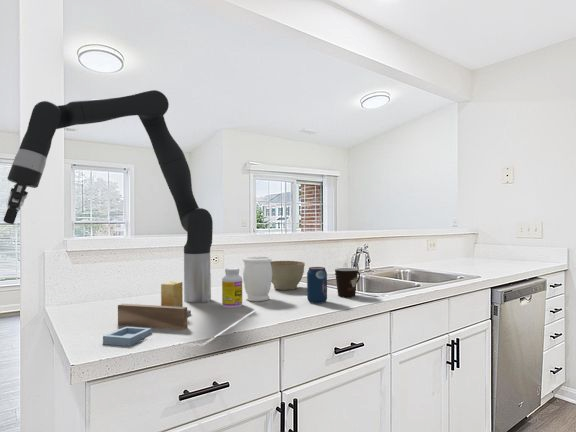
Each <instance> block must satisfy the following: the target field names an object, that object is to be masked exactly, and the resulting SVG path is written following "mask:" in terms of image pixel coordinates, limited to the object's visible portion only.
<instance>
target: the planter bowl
mask: <svg viewBox="0 0 576 432" xmlns="http://www.w3.org/2000/svg"><path fill="white" fill-rule="evenodd" d="M270 264H271V267H272V281H271V284H272V285H273V288H274V289H275V290H279V291H280V290H282V291H291V290H296V289H297V288H298V285H299V283H300V282H301V280H302V279H303V276H304V272H305V265H306V263H305V262H304V261H300V260H299V261H297V260H272V261H271V262H270Z"/></svg>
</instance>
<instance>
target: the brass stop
mask: <svg viewBox="0 0 576 432" xmlns="http://www.w3.org/2000/svg"><path fill="white" fill-rule="evenodd" d="M160 290H161V291H160V299H161V301H160V302H161V303H160V306H175V307H184V306H183V304H184V303H183V302H184V301H183V300H184V294H183V281H168V282H165V283H161V284H160Z"/></svg>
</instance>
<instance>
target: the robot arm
mask: <svg viewBox="0 0 576 432" xmlns="http://www.w3.org/2000/svg"><path fill="white" fill-rule="evenodd" d="M169 105H170V104H169V100H168V97H167V96H166V95H165V94H164V93H163V92H162V91H159V90H156V89H149V90H146V91H143V92H137V93H134V94H129V95H124V96H118V97H108V98H95V99H83V100H72V101H70V102H68V103H67V104H63V105H56V104H55V103H54V102H52V101H48V100H42V101H39V102H37V103H36V104H35V105H34V107H33V109H32V111H31V114H30V118H29V121H28V126H27V129H26V131H25V134H24V136H23V137H22V140H21V143H20V146H19V148H18V151H17V153H16V155H15V157H14V159H13V161H12V165H11V167H10V169H9V170H10V171H9V173H8V175H7V180H8V181H9V182H11V183H14V185H13V187H11V189H10V192H9V196H8V200H7V209H6V212H5V215H4V217H3V222H4V223H6V224H10V225H14V224H15V222H16V218H17V216H18V213H19V211H20V210H21V207H23V205H24V203H25V200H26V199H27V197H28V194H29V192H28V191H26V189H27V188H34V189H36V188H38V187H39V185H40V181H41V178H42V176H43V173H44V170H45V167H46V162H47V160H48V159H47V158H48V155H49V153H50V150H51V146H52V142H53V138H54V136H55V134H56V130H59V129H64V128H67V127H71V126H78V125H89V124H95V123H96V124H97V123H103V122H108V121H112V120H116V119H120V118H124V117H125V118H126V117H131V116H138V119H139V120H140V122H141V124H142V126H143V128H144V129H145V132H146V133H147V136H148V138H149V140H150V143H151V146H152V149H153V151H154V154H155V157H156V159H157V162H158V165H159V167H160V170H161V173H162V175H163V178H164V180H165V182H166V184H167V187H168V188H169V192H170V194H171V196H172V198H173V200H174V203H175V207H176V211H177V214H178V218H179V221H180V224H181V227H182V228H183V229H184V231H185V232H186V234H187V236H186V242H185V244H184V246H183V300H184V301H183V302H184V303H190V304H191V303H192V304H195V303H196V304H204V303H208V302H210V301H211V299H212V288H211V287H212V284H211V283H212V280H211V279H212V278H211V277H212V276H211V275H212V273H211V247H212V244H213V232H214V231H213V230H214V229H213V227H214V226H213V222H214V221H213V217H212V215H211V213H210V212H209V210H207V209H205V208H201V207H199V205H198V203H197V201H196V198H195V196H194V193H193V186H192V175H191V174H192V173H191V170H190V166H189V163H188V161H187V157H186V156H185V154H184V151H183V150H182V149H181V147H180V145H179V144H178V143H177V141H176V140H175V138H174V137H173V136H172V134H171V133H170V130H169V129H168V126H167V123H166V121H165V116H164V115H165V114H166V113H167V112H168V110H169Z"/></svg>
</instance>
